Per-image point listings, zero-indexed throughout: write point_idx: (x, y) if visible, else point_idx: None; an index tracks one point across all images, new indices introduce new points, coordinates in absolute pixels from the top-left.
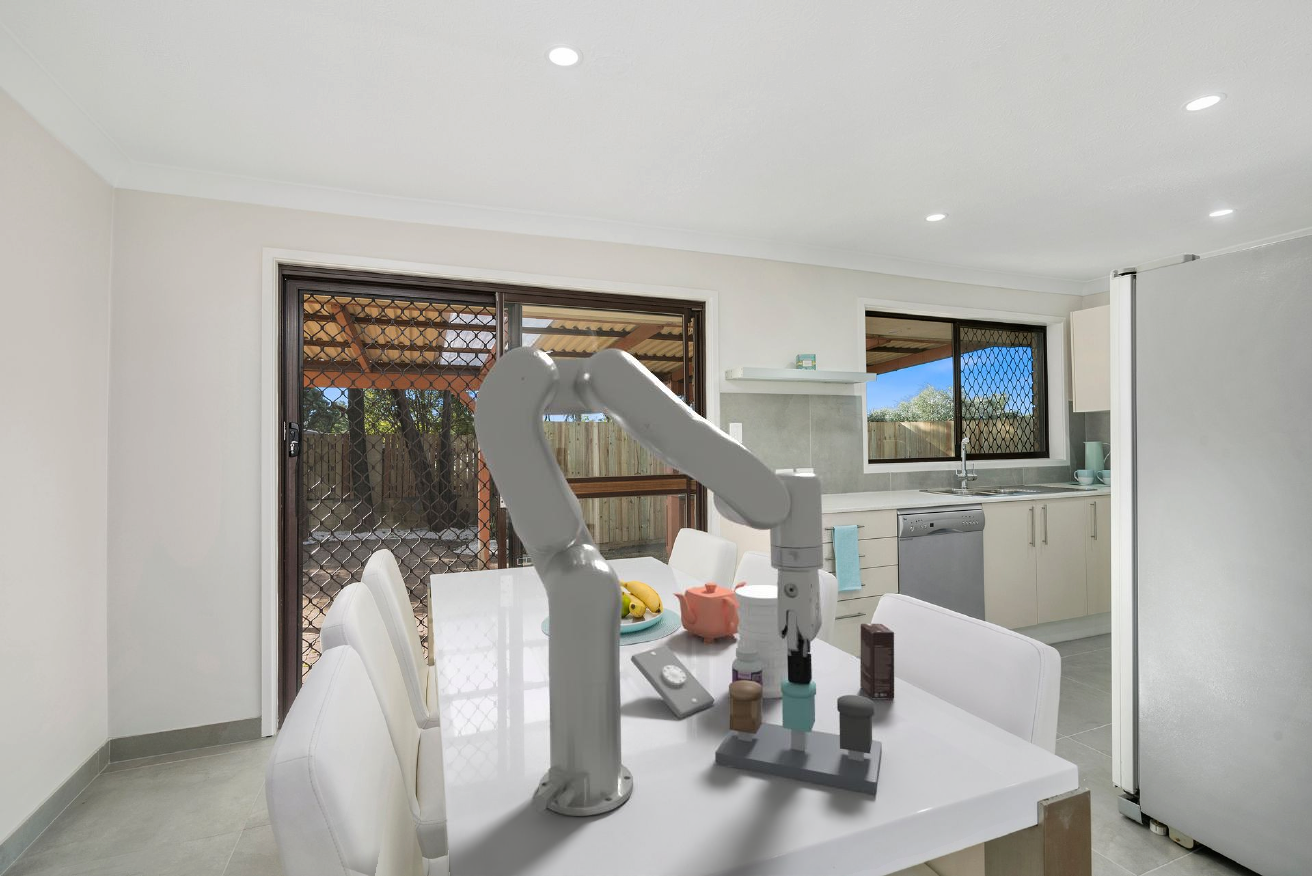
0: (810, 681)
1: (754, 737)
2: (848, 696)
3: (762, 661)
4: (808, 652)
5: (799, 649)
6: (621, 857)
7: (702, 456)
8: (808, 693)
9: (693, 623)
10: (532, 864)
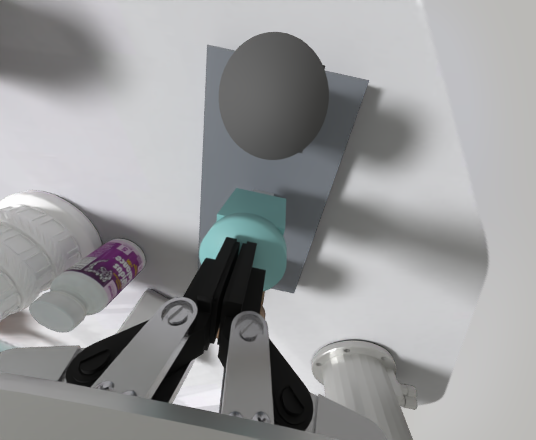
0: (249, 242)
1: None
2: (232, 122)
3: (37, 268)
4: (194, 304)
5: (305, 391)
6: (453, 337)
7: None
8: (279, 237)
9: None
10: (449, 377)
